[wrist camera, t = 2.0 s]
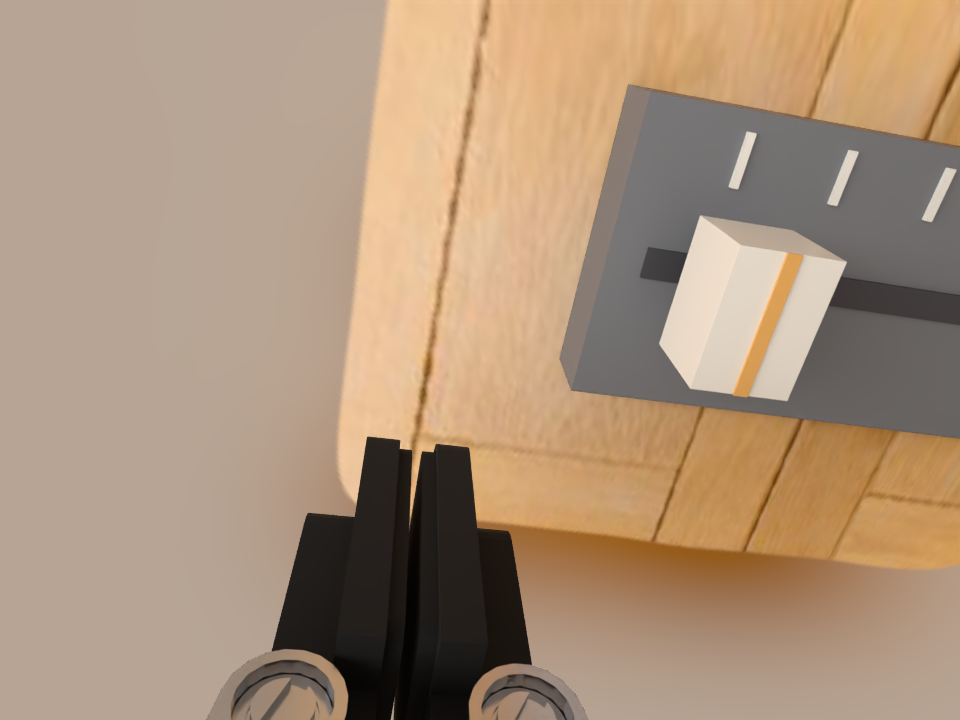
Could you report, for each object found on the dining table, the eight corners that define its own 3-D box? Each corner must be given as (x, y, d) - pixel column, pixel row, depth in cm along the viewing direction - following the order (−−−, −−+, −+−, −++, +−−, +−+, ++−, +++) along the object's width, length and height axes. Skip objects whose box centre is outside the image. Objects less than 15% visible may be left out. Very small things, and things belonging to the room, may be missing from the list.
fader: (685, 204, 25) (742, 246, 20) (774, 219, 25) (848, 262, 21) (647, 327, 27) (691, 390, 22) (729, 339, 27) (788, 402, 23)
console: (628, 84, 26) (652, 92, 23) (1157, 183, 29) (1235, 200, 26) (559, 358, 31) (572, 392, 28) (1014, 417, 34) (1066, 453, 32)
